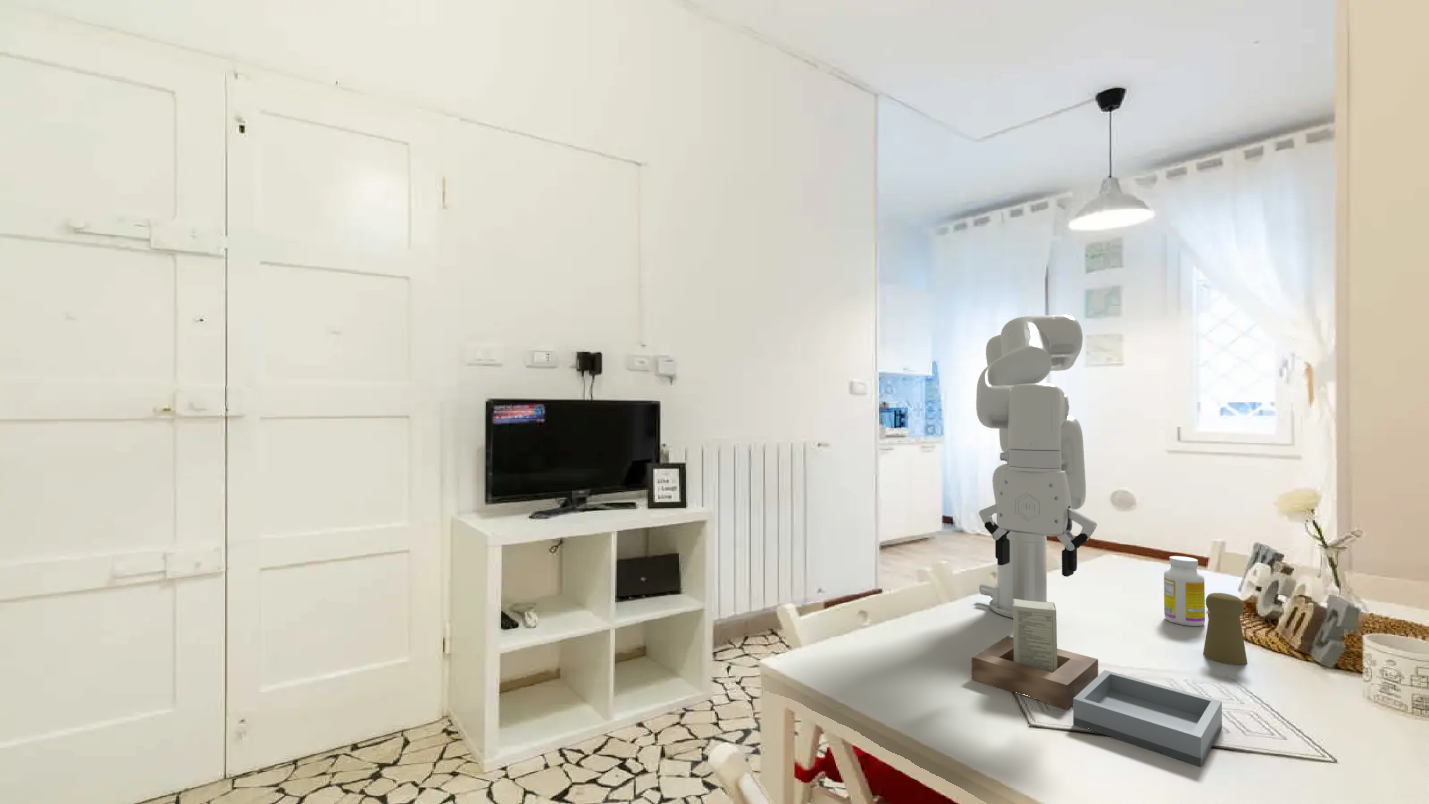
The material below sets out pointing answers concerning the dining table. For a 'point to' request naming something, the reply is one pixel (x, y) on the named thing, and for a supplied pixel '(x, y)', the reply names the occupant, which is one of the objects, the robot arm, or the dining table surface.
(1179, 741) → the tray
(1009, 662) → the frame
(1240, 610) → the cork
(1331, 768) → the dining table surface
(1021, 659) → the skincare box
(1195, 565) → the supplement bottle
